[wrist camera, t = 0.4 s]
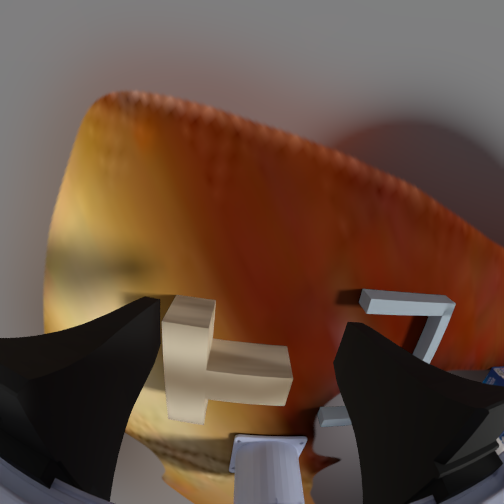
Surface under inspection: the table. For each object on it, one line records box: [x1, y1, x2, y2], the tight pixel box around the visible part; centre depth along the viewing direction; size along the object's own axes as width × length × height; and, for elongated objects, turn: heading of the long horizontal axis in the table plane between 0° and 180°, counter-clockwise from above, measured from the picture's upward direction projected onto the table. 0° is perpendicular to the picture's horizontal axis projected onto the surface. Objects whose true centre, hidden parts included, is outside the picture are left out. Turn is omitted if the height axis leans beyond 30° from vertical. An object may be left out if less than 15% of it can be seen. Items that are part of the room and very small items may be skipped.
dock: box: [317, 289, 456, 427], centre depth 22 cm, size 14×9×2 cm, turn 172°
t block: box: [162, 295, 293, 425], centre depth 20 cm, size 10×9×4 cm
